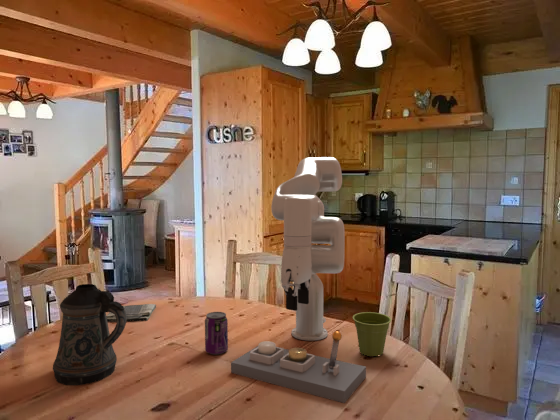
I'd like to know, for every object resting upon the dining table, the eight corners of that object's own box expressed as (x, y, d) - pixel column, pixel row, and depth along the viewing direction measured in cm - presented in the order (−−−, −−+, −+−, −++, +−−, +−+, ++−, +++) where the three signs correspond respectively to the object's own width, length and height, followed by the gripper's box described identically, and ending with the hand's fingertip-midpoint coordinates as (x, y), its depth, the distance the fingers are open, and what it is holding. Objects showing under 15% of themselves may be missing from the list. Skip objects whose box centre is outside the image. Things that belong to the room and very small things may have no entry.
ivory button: (264, 346, 130) (264, 340, 130) (278, 349, 127) (278, 343, 127) (255, 352, 126) (255, 345, 125) (269, 355, 123) (269, 349, 123)
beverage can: (223, 357, 134) (223, 318, 133) (201, 355, 136) (201, 317, 135) (230, 348, 141) (230, 311, 140) (210, 346, 143) (209, 310, 142)
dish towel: (113, 309, 185) (113, 302, 185) (157, 308, 187) (156, 301, 187) (100, 324, 166) (100, 316, 166) (148, 322, 168) (148, 314, 168)
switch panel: (261, 353, 137) (261, 337, 137) (365, 377, 120) (366, 359, 120) (231, 372, 123) (230, 355, 123) (344, 403, 106) (344, 383, 106)
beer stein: (57, 365, 129) (53, 281, 127) (126, 355, 136) (124, 276, 134) (49, 390, 113) (45, 295, 111) (128, 378, 120) (125, 288, 118)
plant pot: (344, 353, 137) (345, 318, 136) (365, 343, 145) (365, 309, 145) (378, 364, 129) (378, 327, 128) (397, 352, 137) (398, 317, 137)
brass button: (293, 353, 125) (293, 346, 125) (309, 356, 122) (309, 349, 122) (285, 359, 121) (285, 352, 120) (301, 363, 118) (301, 356, 118)
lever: (328, 368, 119) (334, 331, 122) (337, 370, 117) (343, 332, 120) (325, 368, 116) (331, 329, 120) (334, 370, 115) (340, 331, 118)
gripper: (299, 237, 129) (299, 297, 130) (269, 244, 114) (269, 312, 115) (323, 238, 125) (323, 300, 126) (294, 247, 110) (294, 317, 111)
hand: (297, 305), depth 120 cm, fingers open, 6 cm apart
